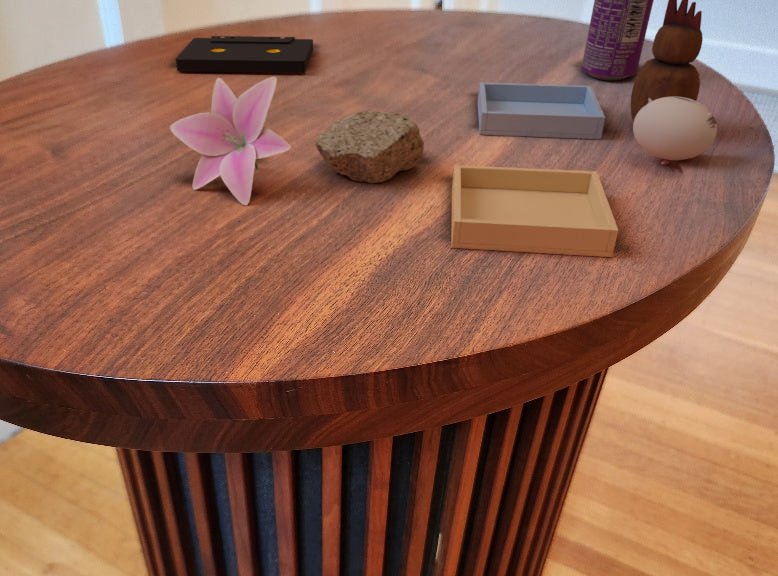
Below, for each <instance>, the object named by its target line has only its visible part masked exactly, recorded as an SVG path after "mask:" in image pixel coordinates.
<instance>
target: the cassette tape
mask: <svg viewBox="0 0 778 576" xmlns="http://www.w3.org/2000/svg"><path fill="white" fill-rule="evenodd" d="M313 52H314V40H313V39H312V38H296V36H284V37H281V36H255V35H254V36H249V35H248V36H247V35H246V36H244V35H243V36H242V35H239V36H238V35H237V36H236V35H211V36H210V37H193V38H192V39H191V40H190V42H189V43H188V44H186V46H185V48H184V49H183V50H182V51H181V52H180V53H179V54H178V55H177V57H176V58H175V64H176V71H177V72H202V73H203V72H205V73H207V72H210V73H211V72H213V73H264V74H265V73H266V74H267V73H268V74H269V73H273V74H305V73H306V71H307V68H308V66H309V63H310V60H311V57H312V55H313Z"/></svg>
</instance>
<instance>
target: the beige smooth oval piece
mask: <svg viewBox="0 0 778 576" xmlns="http://www.w3.org/2000/svg"><path fill="white" fill-rule="evenodd" d="M632 131H633V136H634V139H635V140H636V142H637V144H638V145H639V146H640V148H642V150H644V151H646V152H647V153H648V154H650V155H652V156H654V157H657V158H659V159H662V160H663V159H664V160H663V161H661V162H660V163H661V165H665V166H666V165H669V164H670V161H684V160H689V159H693V158H695V157H698V156H699V155H702V154H703V153H705V152H706V151H707V150H708V149H710V148H711V146H712V145H713V143H714V141H715V140H716V137H717V135H718V134H717V133H718V126H717V121H716V118H715V116H714V115H713V112H711V111H710V110H709V109H708V107H706V105H704V104H703V103H700V102H698V101H695V100H692V99H689V98H684V97H676V96H674V97H664V98H659V99H656V100H654V101H652V100H651V99H650V98H649V103H648V104H646V105H645V106H644V107H643V108H641V110H640V111H639V112H638V113H637V115H636V117H635V119H634V123H633V122H632Z"/></svg>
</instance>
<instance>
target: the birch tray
mask: <svg viewBox="0 0 778 576" xmlns="http://www.w3.org/2000/svg"><path fill="white" fill-rule="evenodd" d="M450 230H451V231H450V232H451V234H450V235H451V236H450V237H451V238H450V239H451V240H450V247H451V249H467V250H468V249H469V250H483V251H499V252H500V251H501V252H517V253H532V254H533V253H534V254H549V255H550V254H551V255H565V256H566V255H568V256H585V257H602V258H612V257H613V255H614V250H615V247H616V243H617V238H618V235H619V227H618V225H617V222H616V219H615V217H614V214H613V211H612V208H611V206H610V203H609V200H608V197H607V195H606V192H605V189H604V186H603V184H602V181H601V178H600V176H599V173H598V171H597V170H578V169H577V170H575V169H555V168H554V169H552V168H549V169H548V168H530V167H529V168H528V167H509V166H508V167H507V166H487V165H485V166H484V165H465V164H463V165H462V164H454V165H453V176H452V185H451V229H450Z"/></svg>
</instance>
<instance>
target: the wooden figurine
mask: <svg viewBox="0 0 778 576" xmlns="http://www.w3.org/2000/svg"><path fill="white" fill-rule="evenodd" d="M696 7H697V1H693V2H691V4H690V6H689V0H681V1H680V4H679V6H678V0H668V1H667V5H666V9H665V13H664V17H663V22H662V25H661V27H659V28H658V30H657V31H656V34H655V36H654V39H653V42H652V47H651V53H652V55H653V58H650V59H648V60H647V61H646V62H645V63H644V64H643V65H642V66H641V67H640V68H639V70H638V71H637V73H636V77H635V79H634V80H635V81H634V83H633V85H632V90H631V94H630V113H631V120H632V124H633V123H634V119H635V117H636V115H637V113H638V112H639V111H640V110H641V108H643V107H644V106H645V105H646V104H648V103H649V98H650V99H651V100H652V101H654V100H656V99H659V98H664V97H674V96H676V97H684V98H689V99H692V100H695V101H697V100H698V97H699V94H700V87H701V78H700V73H699V70H698V69H697V68H696V66H695V65H693V64H692V63H693V62H694V61H696V59H697V58H698V57H699V55H700V52H701V50H702V45H703V32H702V30H701V27H702V26H701V25H702V15H703V12H702V10H699V11H697V12H696ZM697 102H698V101H697Z"/></svg>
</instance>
